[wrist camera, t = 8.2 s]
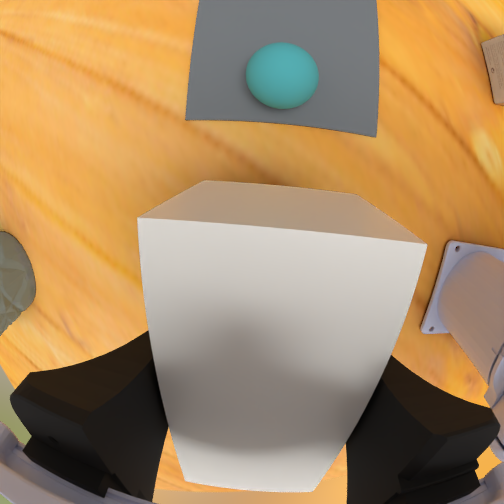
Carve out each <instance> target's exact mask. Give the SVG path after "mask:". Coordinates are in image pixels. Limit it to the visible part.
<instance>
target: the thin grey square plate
mask: <svg viewBox="0 0 504 504" xmlns="http://www.w3.org/2000/svg"><path fill="white" fill-rule="evenodd" d="M278 42H284V43H290V44H294V45H297V46H299V47H301V48H302V49H304V50H305V51H307V52H308V53H309V54H310V55H311V57H312V58H313V59H314V61H315V63H316V65H317V68H318V72H319V81H318V86H317V89H316V91H315V93H314V94H313V95H312V97H311V98H310V99H309V100H308V101H306V102H305V103H303V104H302V105H300V106H297V107H294V108H290V109H277V108H273V107H269V106H267V105H265V104H263V103H262V102H260V101H259V100H258V99H256V98H255V97H254V95H253V94H252V93H251V91H250V89H249V88H248V85H247V82H246V68H247V64H248V62H249V60H250V58H251V57H252V56H253V54H254V53H255V52H256V51H257V50H259V49H260V48H262V47H264V46H266V45H268V44H272V43H278ZM378 99H379V35H378V16H377V3H376V0H199V6H198V12H197V18H196V25H195V32H194V39H193V47H192V55H191V64H190V73H189V83H188V94H187V105H186V118H185V120H230V121H252V122H267V123H279V124H290V125H299V126H308V127H316V128H323V129H330V130H337V131H343V132H349V133H355V134H360V135H365V136H371V137H376V134H377V119H378Z"/></svg>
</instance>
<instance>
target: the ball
mask: <svg viewBox="0 0 504 504" xmlns="http://www.w3.org/2000/svg"><path fill="white" fill-rule="evenodd" d="M318 81H319V72H318V68H317V65H316V63H315V61H314V59H313V58H312V57H311V55H310V54H309V53H308V52H307V51H305V50H304V49H302V48H301V47H299V46H297V45H294V44H290V43H284V42H278V43H272V44H268V45H266V46H264V47H262V48H260V49H259V50H257V51H256V52H255V53H254V54H253V56H252V57H251V58H250V60H249V62H248V64H247V68H246V82H247V85H248V88H249V89H250V91H251V93H252V94H253V95H254V97H255V98H256V99H258V100H259V101H260V102H262V103H263V104H265V105H267V106H269V107H273V108H277V109H290V108H294V107H297V106H300V105H302V104H303V103H305V102H306V101H308V100H309V99H310V98H311V97H312V95H313V94H314V93H315V91H316V89H317V86H318Z"/></svg>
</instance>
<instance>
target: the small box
mask: <svg viewBox="0 0 504 504" xmlns="http://www.w3.org/2000/svg"><path fill="white" fill-rule="evenodd" d="M481 45H482V49H483V52H484V56H485V60H486V64H487V68H488V72H489V77H490V82H491V87H492V92H493V98H494V103H495V104H497V105H502V106H504V34H503V35H500V36H498V37H495V38H493V39H490V40H487V41H485V42H482V43H481Z"/></svg>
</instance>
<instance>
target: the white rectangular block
mask: <svg viewBox="0 0 504 504" xmlns="http://www.w3.org/2000/svg"><path fill="white" fill-rule="evenodd" d="M137 222H138V239H139V253H140V265H141V275H142V284H143V293H144V301H145V309H146V316H147V323H148V329H149V336H150V342H151V347H152V353H153V359H154V364H155V369H156V374H157V379H158V383H159V388H160V393H161V397H162V401H163V405H164V410H165V414H166V418H167V421H168V425H169V429H170V433H171V436H172V440H173V443H174V447H175V450H176V453H177V457H178V460H179V463H180V466H181V469H182V472H183V475H184V478H185V481H188V482H193V483H198V484H204V485H210V486H217V487H224V488H232V489H241V490H252V491H269V492H312V491H313V490H314V489H315V487H316V486H317V485H318V483H319V482H320V481H321V479H322V478H323V476H324V475H325V474H326V472H327V471H328V469H329V468H330V466H331V465H332V463H333V462H334V460H335V459H336V457H337V456H338V454H339V453H340V451H341V449H342V448H343V446H344V445H345V443H346V441H347V440H348V438H349V436H350V435H351V433H352V431H353V430H354V428H355V426H356V424H357V423H358V421H359V419H360V417H361V415H362V413H363V412H364V410H365V408H366V406H367V404H368V402H369V400H370V398H371V396H372V394H373V392H374V390H375V388H376V386H377V384H378V382H379V380H380V378H381V376H382V374H383V371H384V369H385V367H386V365H387V362H388V360H389V358H390V356H391V353H392V351H393V348H394V346H395V343H396V341H397V339H398V336H399V333H400V331H401V328H402V326H403V323H404V320H405V317H406V315H407V312H408V309H409V306H410V303H411V300H412V297H413V294H414V291H415V288H416V284H417V281H418V278H419V274H420V271H421V267H422V264H423V260H424V256H425V252H426V249H427V244H426V243H425V242H424V241H422V240H421V239H420V238H418V237H417V236H416V235H414V234H413V233H412V232H410V231H409V230H408V229H406V228H405V227H404V226H402V225H401V224H399V223H398V222H397V221H395V220H394V219H392V218H391V217H389V216H388V215H387V214H385V213H384V212H382V211H381V210H379V209H378V208H376V207H375V206H373V205H372V204H370V203H369V202H367V201H366V200H364V199H363V198H361V197H360V196H358V195H357V194H350V193H343V192H335V191H327V190H319V189H310V188H301V187H291V186H280V185H269V184H257V183H243V182H228V181H209V180H204V181H202V182H200V183H198V184H196V185H194V186H192V187H190V188H189V189H187V190H185V191H183V192H181V193H179V194H178V195H176V196H174V197H172V198H170V199H169V200H167V201H165V202H163V203H162V204H160V205H158V206H156V207H155V208H153V209H151V210H149V211H148V212H146V213H144V214H143V215H141V216H139V217H138V218H137Z"/></svg>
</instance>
